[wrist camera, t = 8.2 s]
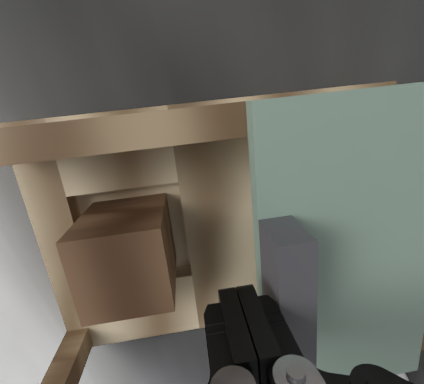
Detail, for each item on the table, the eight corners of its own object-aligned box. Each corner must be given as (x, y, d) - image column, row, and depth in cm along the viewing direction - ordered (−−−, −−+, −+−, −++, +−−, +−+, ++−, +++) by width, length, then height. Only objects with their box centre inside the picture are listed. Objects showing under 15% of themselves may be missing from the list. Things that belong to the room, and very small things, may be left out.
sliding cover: (263, 382, 16) (284, 452, 13) (245, 101, 11) (272, 98, 8) (404, 355, 17) (458, 415, 14) (443, 79, 12) (542, 69, 9)
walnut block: (108, 265, 20) (81, 327, 15) (93, 202, 19) (55, 243, 13) (176, 255, 21) (175, 311, 15) (166, 192, 19) (160, 228, 13)
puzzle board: (82, 329, 22) (39, 427, 15) (17, 121, 17) (-87, 130, 10) (360, 282, 24) (432, 351, 17) (375, 83, 19) (483, 69, 12)
